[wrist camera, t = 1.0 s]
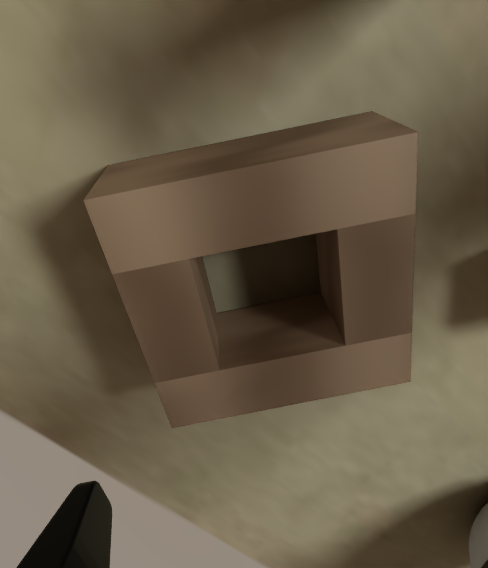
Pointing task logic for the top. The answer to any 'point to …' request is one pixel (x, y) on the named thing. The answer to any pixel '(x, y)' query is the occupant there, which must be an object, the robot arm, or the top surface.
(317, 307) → the socket block
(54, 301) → the top surface
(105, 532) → the robot arm
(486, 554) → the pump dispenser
